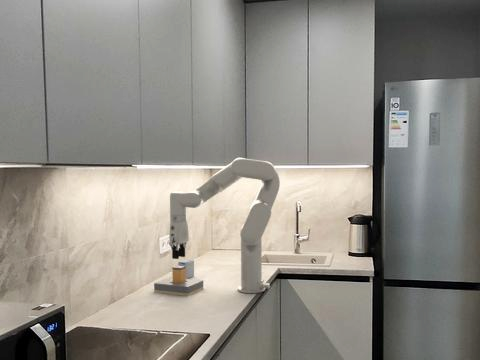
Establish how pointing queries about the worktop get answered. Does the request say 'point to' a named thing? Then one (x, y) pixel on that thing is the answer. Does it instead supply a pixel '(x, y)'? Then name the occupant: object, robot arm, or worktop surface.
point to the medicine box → (188, 267)
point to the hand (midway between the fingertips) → (178, 257)
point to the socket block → (178, 286)
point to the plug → (179, 274)
